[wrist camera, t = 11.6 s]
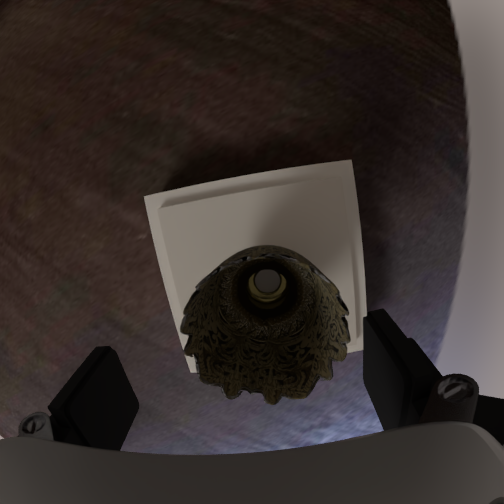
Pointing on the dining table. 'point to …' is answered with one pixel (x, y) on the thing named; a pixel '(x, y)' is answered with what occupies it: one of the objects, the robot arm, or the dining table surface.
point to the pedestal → (263, 232)
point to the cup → (266, 326)
